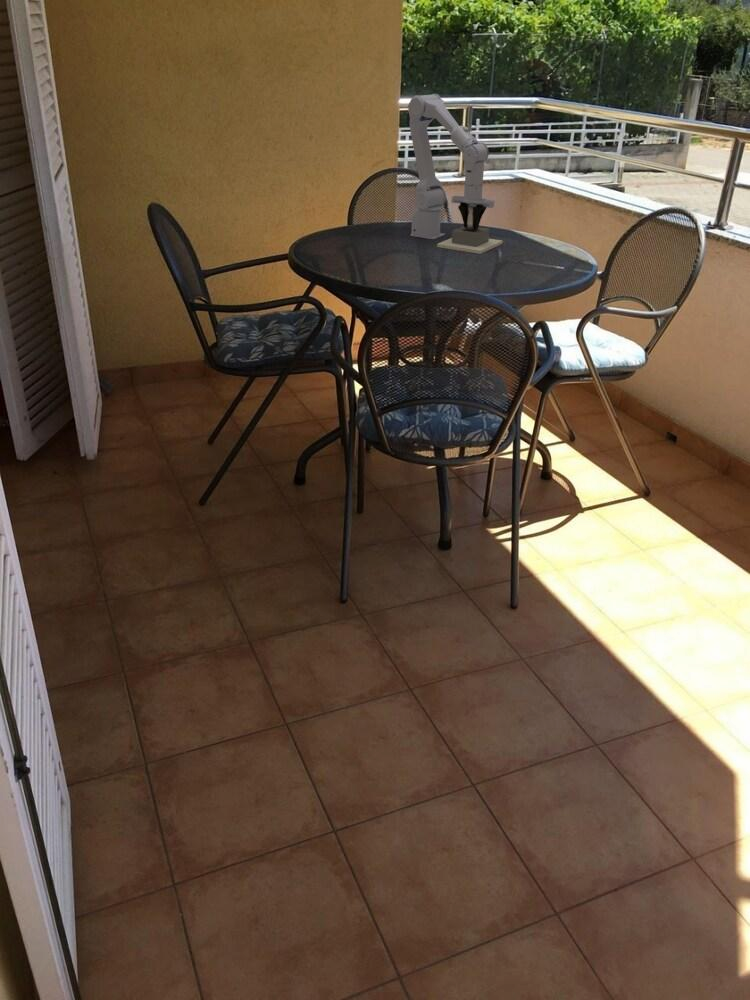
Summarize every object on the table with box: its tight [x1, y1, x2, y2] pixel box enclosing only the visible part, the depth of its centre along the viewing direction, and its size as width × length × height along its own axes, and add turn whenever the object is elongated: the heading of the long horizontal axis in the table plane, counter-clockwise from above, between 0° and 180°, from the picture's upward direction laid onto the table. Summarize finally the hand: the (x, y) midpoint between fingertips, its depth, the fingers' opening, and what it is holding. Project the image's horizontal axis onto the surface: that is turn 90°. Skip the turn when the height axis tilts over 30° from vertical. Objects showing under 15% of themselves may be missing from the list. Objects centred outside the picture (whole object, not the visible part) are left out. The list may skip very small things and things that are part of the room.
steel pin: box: [466, 205, 476, 232], centre depth 271 cm, size 3×3×10 cm
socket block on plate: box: [436, 225, 504, 255], centre depth 274 cm, size 16×16×5 cm
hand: (471, 227), depth 272 cm, fingers closed on steel pin, 3 cm apart
